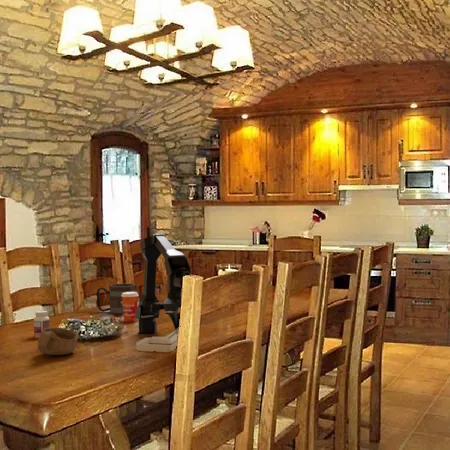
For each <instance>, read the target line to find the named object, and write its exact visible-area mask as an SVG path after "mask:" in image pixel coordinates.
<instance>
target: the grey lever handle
mask: <svg viewBox="0 0 450 450" xmlns="http://www.w3.org/2000/svg"><path fill="white" fill-rule="evenodd" d="M178 335H179V333H178V328H177V329H176V330H174V331H172V332H171V333H169V334H167V335H165V336H164V337H165V338H166V339H167V340H168V342H169V343H172V342H174V341H175V340H177V336H178Z"/></svg>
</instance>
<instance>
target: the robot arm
mask: <svg viewBox="0 0 450 450" xmlns="http://www.w3.org/2000/svg"><path fill="white" fill-rule="evenodd" d="M139 246H140V251H141V255H142V256H143V258H144V268H143V269H144V272H143V294H142V295H141V297H140V298H138V299H139V300H138V306H137V310H136V312H135V317H136V319H137V320H138V332H137V335H154V334H156V333H157V332H158V322H157V320H156V319H159V318H160V317H159V316H160V311H161V310H164V312H165V315H168V316H169V317H170V319H171V321H172V324H173V326H174V331H176V329H177V328H178V327H179V319H180V308H181V288H182V277H183V276H185V275H190V276H191V273H192V272H191V269H192V268H191V265H190V263H189V261H188V258H187V257H186V255H185V254H184V253H183V252H182V251H179V250H176V249H175V248H174V246H173V245H172V244H171V243H170V241H169V240H168V238H167V235H166V234H165V233H154V234H151V235H150V236H147V237H145V238H143V239H142V240H141V241H140V244H139ZM161 255H162V256H163V258H164V262H163V263H164V266H165V268H166V270H167V274H166V275H167V276H168V291H167V296H166V298H165V300H164V301H161V302H160V300H159V299H158V298H157V296H156V285H157V284H156V282H157V281H156V280H157V261H158V259H159V258H160V256H161Z"/></svg>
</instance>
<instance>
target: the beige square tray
mask: <svg viewBox="0 0 450 450" xmlns="http://www.w3.org/2000/svg"><path fill="white" fill-rule="evenodd" d="M165 337H166V336H152V337H144V338H141V340H138V341H137V342H136V343H135V344H136V345H135V348H136V351H139V352H153V351H156V353H157V352H158V353H169V352H171V351H172V352H173V351H174V350H176V349H177V348H176V346H177V340H175V341H174V342H172V343H169V342H168V340H167V339H166V338H165Z"/></svg>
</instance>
